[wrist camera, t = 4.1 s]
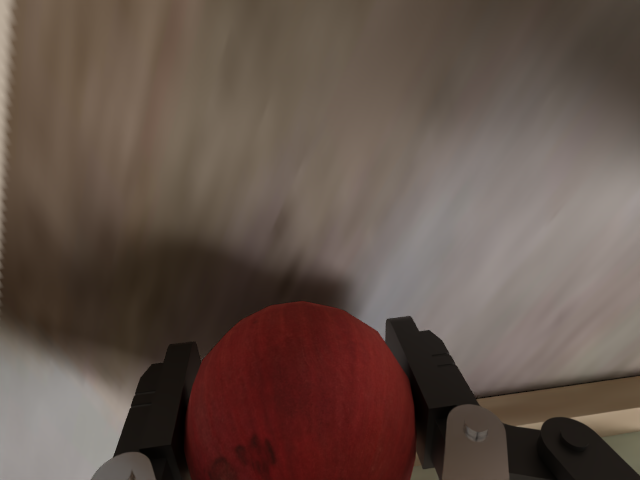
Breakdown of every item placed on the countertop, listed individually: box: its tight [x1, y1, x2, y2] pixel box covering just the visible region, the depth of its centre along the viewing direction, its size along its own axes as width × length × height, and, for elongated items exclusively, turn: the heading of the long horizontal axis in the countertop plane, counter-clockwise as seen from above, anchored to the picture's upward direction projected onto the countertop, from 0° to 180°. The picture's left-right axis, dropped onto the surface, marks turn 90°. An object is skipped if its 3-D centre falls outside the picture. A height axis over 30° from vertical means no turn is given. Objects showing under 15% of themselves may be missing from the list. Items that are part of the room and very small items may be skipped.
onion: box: [184, 301, 417, 480], centre depth 11 cm, size 6×6×8 cm
